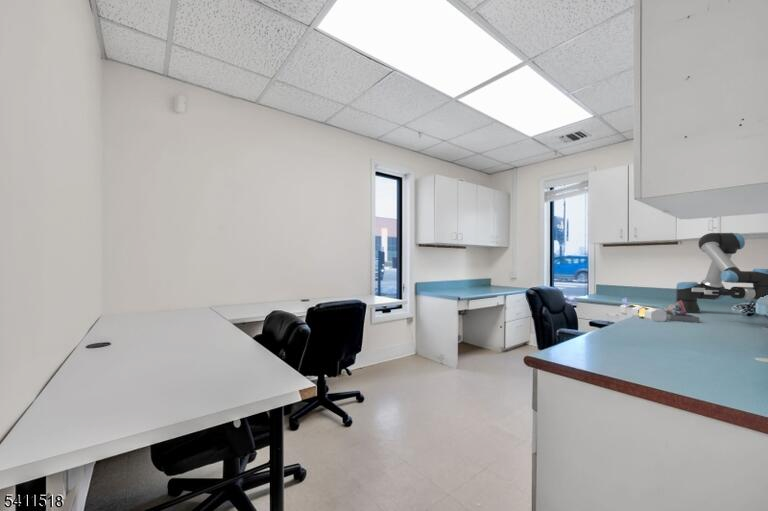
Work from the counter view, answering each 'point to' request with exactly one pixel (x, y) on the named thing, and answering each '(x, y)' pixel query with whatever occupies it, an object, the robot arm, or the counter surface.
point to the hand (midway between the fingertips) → (698, 290)
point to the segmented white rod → (644, 312)
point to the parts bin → (683, 318)
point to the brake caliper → (676, 309)
